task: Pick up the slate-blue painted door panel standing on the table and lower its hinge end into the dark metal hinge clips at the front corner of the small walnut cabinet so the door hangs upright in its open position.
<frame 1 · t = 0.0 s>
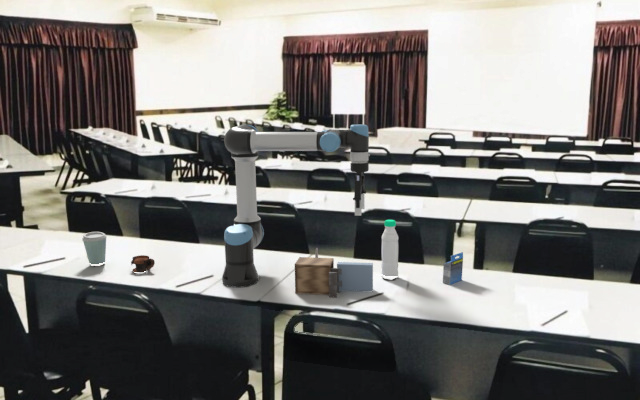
hand: (359, 212, 258), 28 cm above the table, tool pointing down, fingers open, 13 cm apart
tow hook: (318, 275, 266), on the table
cabinet: (314, 289, 246), on the table
door: (355, 290, 246), on the table
label tape box: (452, 282, 254), on the table
disposable coffee cup: (96, 265, 286), on the table
water bottle: (389, 278, 260), on the table
pottery mug: (143, 271, 276), on the table
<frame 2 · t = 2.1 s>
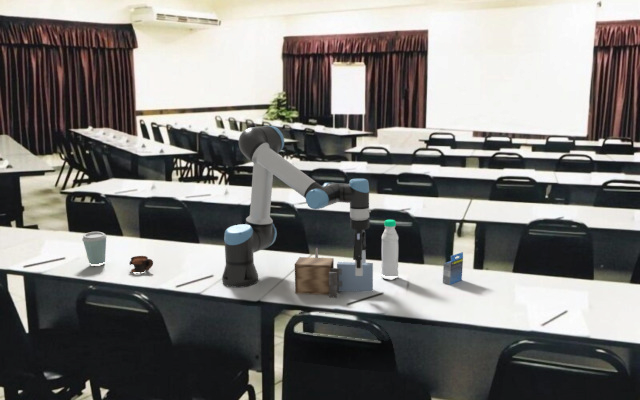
hand: (360, 270, 244), 8 cm above the table, tool pointing down, fingers open, 13 cm apart
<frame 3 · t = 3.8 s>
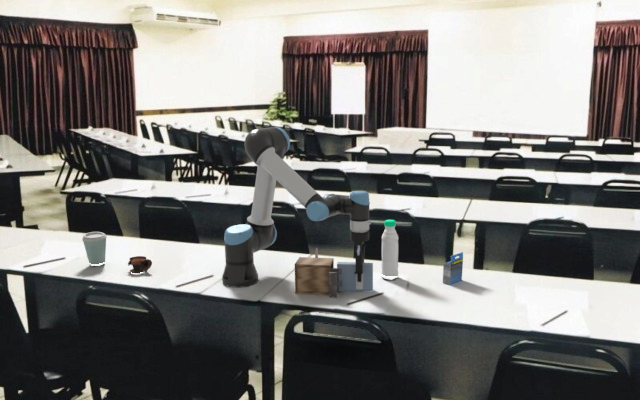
hand: (360, 287, 245), 1 cm above the table, tool pointing down, fingers closed on door, 3 cm apart
door: (355, 289, 246), on the table, touching gripper
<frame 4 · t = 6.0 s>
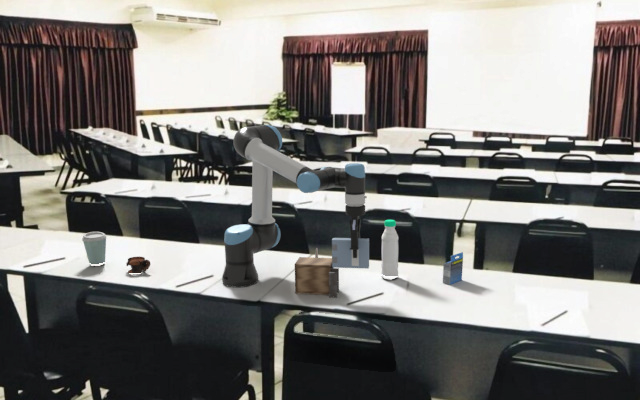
hand: (355, 264, 236), 13 cm above the table, tool pointing down, fingers closed on door, 3 cm apart
door: (350, 266, 237), point 12 cm above the table, touching gripper
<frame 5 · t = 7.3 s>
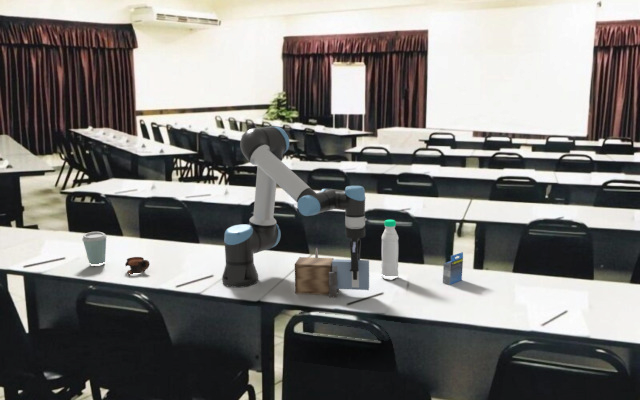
hand: (355, 285, 238), 4 cm above the table, tool pointing down, fingers closed on door, 3 cm apart
door: (350, 288, 238), point 3 cm above the table, touching gripper
when the fingers open (3 cm above the table, at t = 8.2 s): door drops 2 cm, on the table.
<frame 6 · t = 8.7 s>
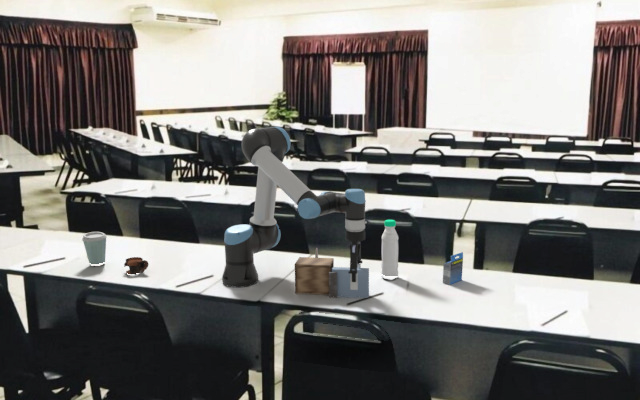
hand: (355, 284, 238), 5 cm above the table, tool pointing down, fingers open, 11 cm apart
door: (350, 295, 239), on the table
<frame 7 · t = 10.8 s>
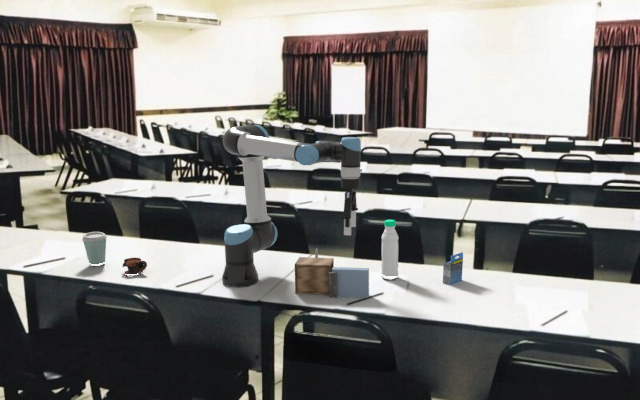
hand: (350, 230, 241), 24 cm above the table, tool pointing down, fingers open, 13 cm apart
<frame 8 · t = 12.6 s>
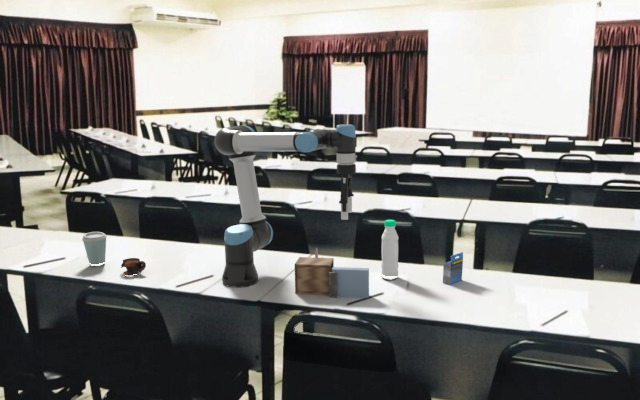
hand: (346, 215, 248), 29 cm above the table, tool pointing down, fingers open, 13 cm apart
at the end: door 0.2 cm from the target spot, on the table; door tilted 0°; the gripper is holding nothing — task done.
